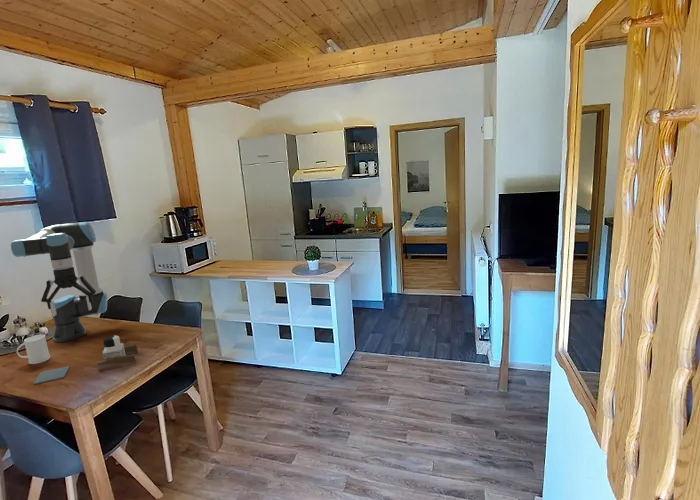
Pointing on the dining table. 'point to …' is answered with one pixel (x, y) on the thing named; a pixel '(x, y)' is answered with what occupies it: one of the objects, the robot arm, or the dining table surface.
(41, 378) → the pad
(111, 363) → the rack
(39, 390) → the dining table surface
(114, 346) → the container
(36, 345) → the mug
